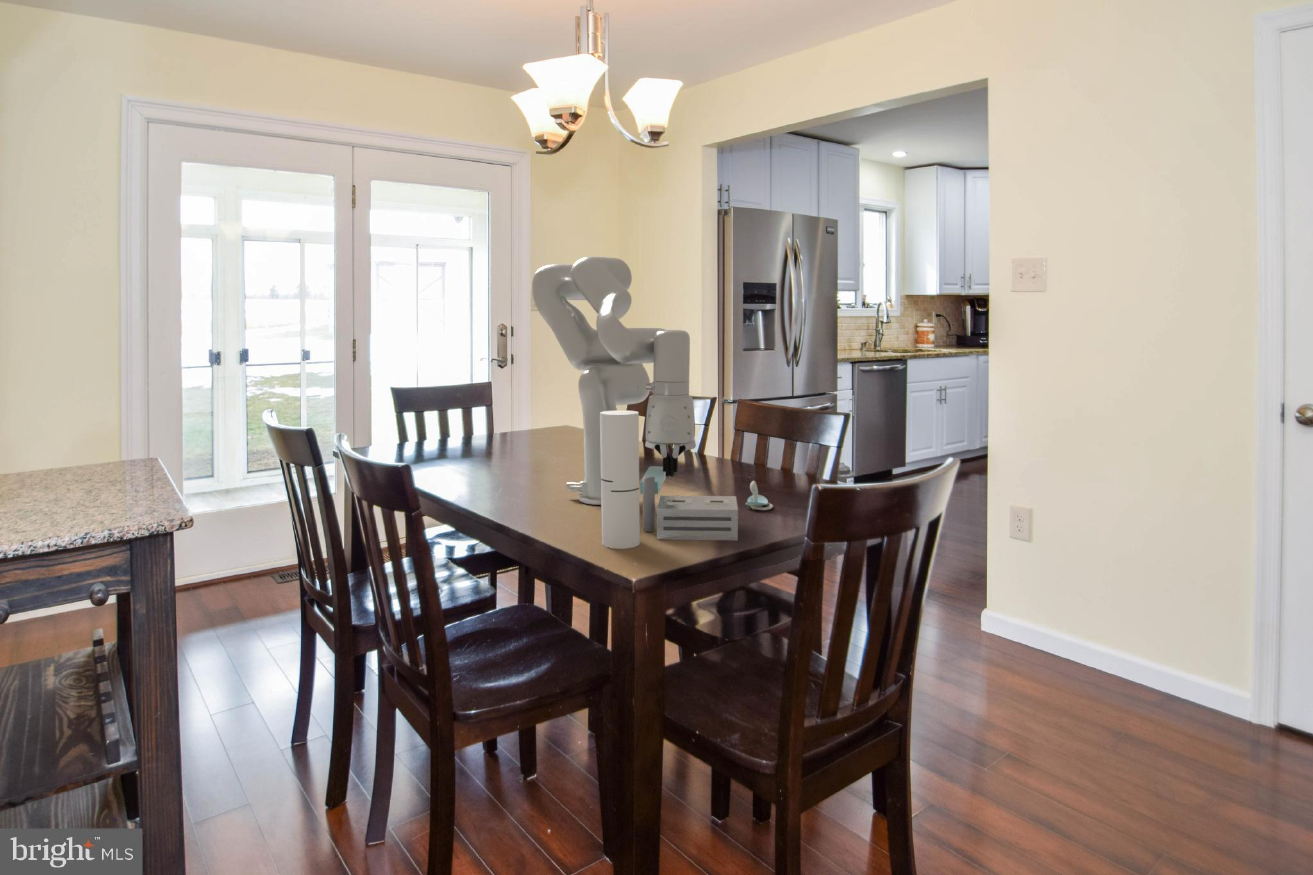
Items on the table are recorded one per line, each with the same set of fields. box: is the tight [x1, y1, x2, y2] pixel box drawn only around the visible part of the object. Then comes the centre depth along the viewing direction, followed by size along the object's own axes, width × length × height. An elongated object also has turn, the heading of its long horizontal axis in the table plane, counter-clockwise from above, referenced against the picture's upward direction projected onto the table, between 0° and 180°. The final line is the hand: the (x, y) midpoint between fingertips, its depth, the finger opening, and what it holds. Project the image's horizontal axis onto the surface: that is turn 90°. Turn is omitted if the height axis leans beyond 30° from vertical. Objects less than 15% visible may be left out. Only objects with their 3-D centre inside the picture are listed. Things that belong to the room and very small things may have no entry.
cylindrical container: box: [600, 409, 641, 550], centre depth 150 cm, size 7×7×25 cm
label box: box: [656, 495, 739, 541], centre depth 159 cm, size 16×12×6 cm
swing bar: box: [639, 465, 667, 532], centre depth 168 cm, size 19×4×11 cm, turn 174°
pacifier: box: [744, 480, 774, 511], centre depth 180 cm, size 7×6×6 cm
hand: (670, 475), depth 170 cm, fingers closed
